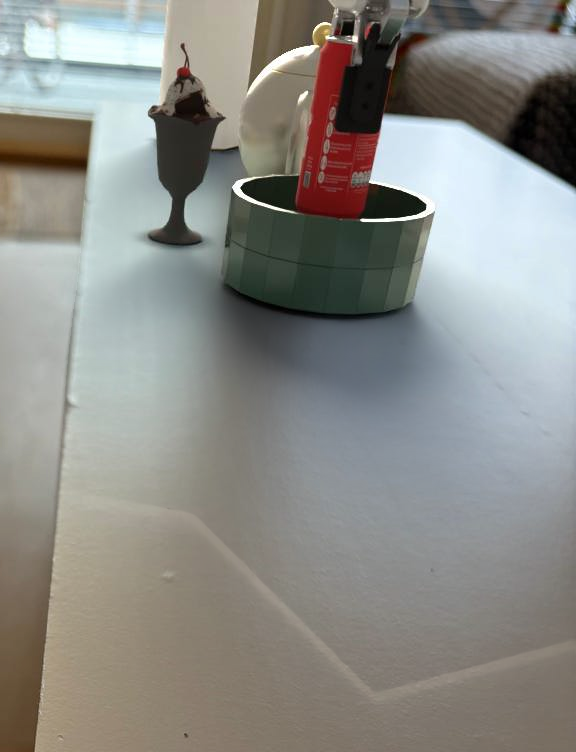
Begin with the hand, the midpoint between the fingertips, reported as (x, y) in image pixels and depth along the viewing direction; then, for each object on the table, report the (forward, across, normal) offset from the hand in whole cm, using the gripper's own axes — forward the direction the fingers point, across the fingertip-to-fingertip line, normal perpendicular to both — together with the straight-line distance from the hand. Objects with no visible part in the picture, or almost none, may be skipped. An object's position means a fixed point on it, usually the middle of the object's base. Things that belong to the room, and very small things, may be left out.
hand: (346, 122), depth 71 cm
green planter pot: (+12, 0, 0) cm, 12 cm away
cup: (+12, +62, +2) cm, 63 cm away
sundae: (+12, +14, +10) cm, 21 cm away
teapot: (+12, +24, -3) cm, 27 cm away
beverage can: (+7, 0, 0) cm, 7 cm away
